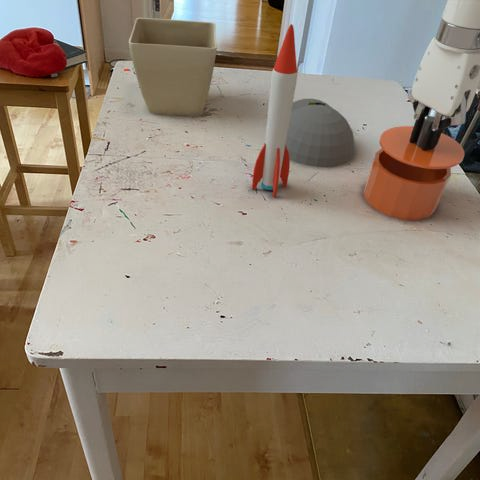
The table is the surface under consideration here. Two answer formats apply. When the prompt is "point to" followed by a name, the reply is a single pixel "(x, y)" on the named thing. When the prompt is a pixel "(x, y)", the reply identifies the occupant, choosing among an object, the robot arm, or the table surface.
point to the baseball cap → (318, 135)
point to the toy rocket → (278, 120)
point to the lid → (412, 153)
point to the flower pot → (173, 64)
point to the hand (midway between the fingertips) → (422, 144)
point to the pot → (404, 188)
